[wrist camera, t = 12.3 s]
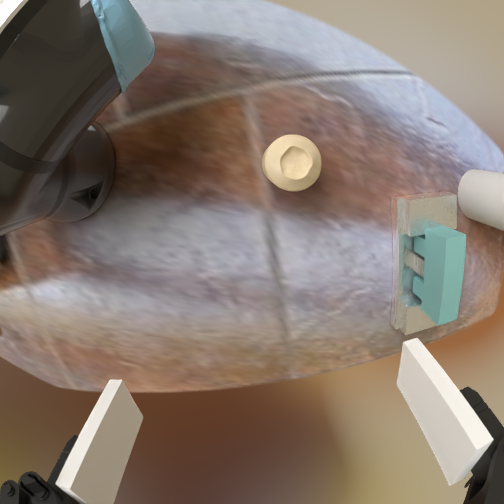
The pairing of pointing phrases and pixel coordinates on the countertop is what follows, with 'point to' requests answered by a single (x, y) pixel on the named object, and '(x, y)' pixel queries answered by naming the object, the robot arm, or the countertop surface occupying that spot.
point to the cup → (483, 197)
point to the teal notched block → (440, 272)
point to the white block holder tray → (406, 259)
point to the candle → (292, 163)
